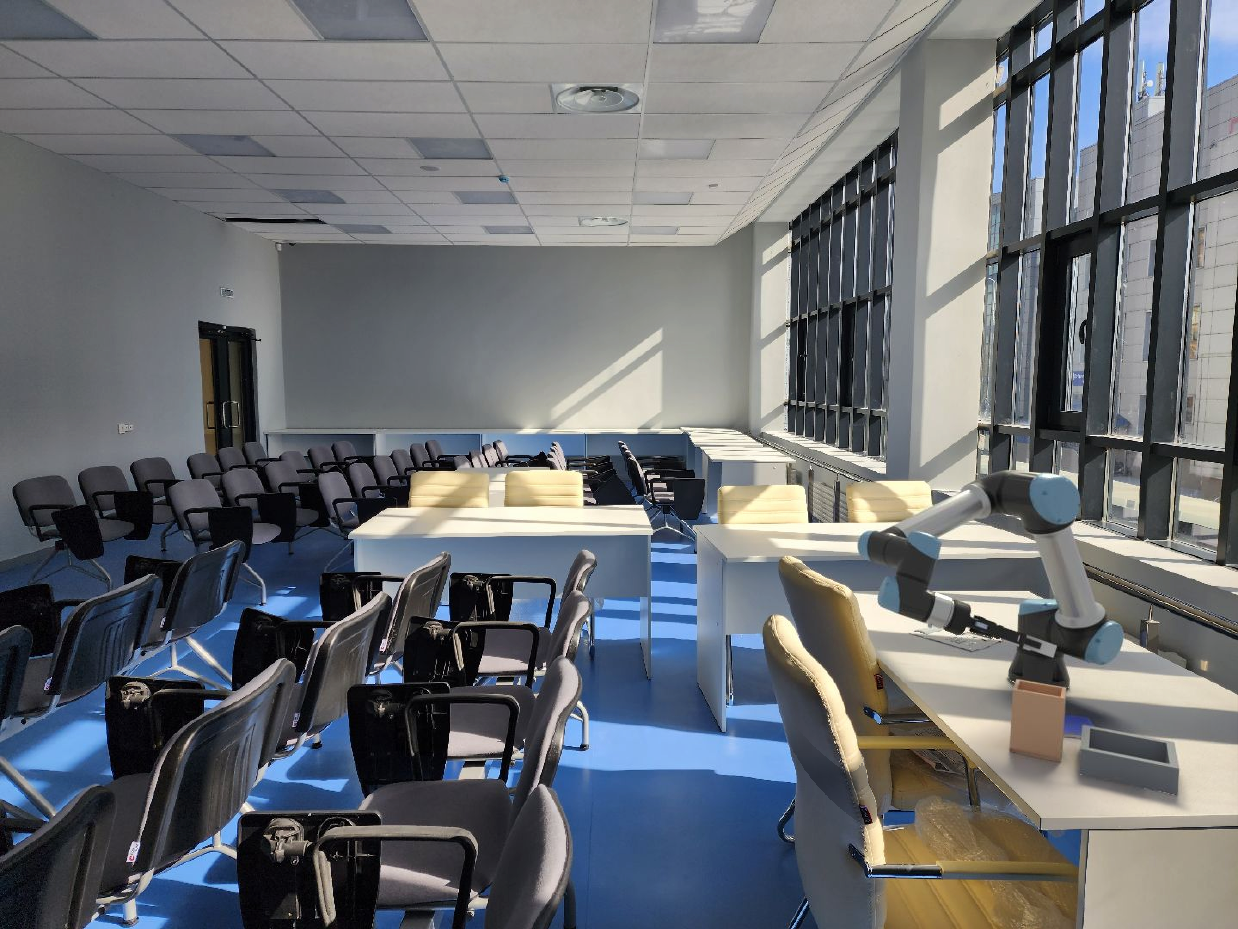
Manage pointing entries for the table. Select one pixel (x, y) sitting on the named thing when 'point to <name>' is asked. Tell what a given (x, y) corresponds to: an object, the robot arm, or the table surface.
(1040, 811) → the table surface
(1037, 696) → the tall tapered brown container
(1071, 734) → the hard drive
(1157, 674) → the table surface
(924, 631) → the office telephone
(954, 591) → the table surface
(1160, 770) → the tray
